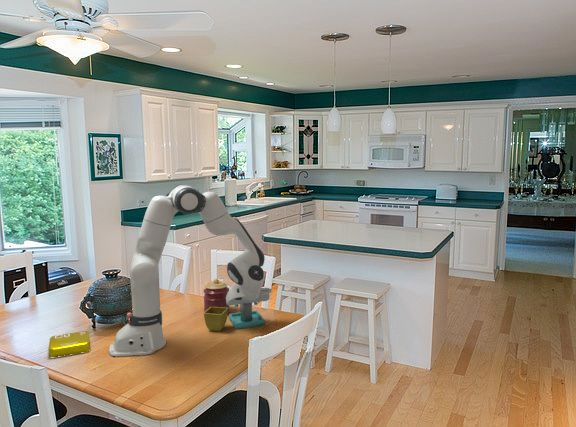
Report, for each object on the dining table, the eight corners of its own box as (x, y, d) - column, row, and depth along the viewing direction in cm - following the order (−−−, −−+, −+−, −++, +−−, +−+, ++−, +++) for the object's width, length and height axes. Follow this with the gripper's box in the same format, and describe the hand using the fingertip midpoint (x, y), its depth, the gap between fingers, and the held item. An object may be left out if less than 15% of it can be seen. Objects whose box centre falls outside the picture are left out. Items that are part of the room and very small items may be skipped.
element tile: (48, 360, 177) (48, 348, 176) (50, 345, 190) (49, 335, 190) (90, 352, 183) (89, 341, 182) (89, 339, 197) (88, 329, 196)
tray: (235, 329, 205) (235, 324, 205) (229, 318, 218) (229, 313, 218) (264, 325, 210) (264, 320, 209) (257, 315, 223) (257, 310, 223)
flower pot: (222, 333, 200) (221, 314, 199) (203, 332, 202) (203, 313, 201) (228, 326, 209) (228, 307, 208) (211, 325, 211) (210, 306, 210)
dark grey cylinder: (242, 322, 210) (241, 299, 209) (239, 318, 216) (238, 296, 214) (253, 320, 212) (253, 298, 211) (250, 316, 217) (250, 294, 216)
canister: (232, 308, 233) (231, 275, 231) (226, 317, 220) (225, 282, 218) (208, 307, 235) (207, 275, 232) (200, 316, 222) (199, 282, 220)
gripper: (271, 282, 208) (265, 296, 219) (227, 286, 202) (223, 301, 212) (273, 294, 205) (268, 308, 215) (229, 299, 198) (225, 313, 209)
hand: (245, 304), depth 214 cm, fingers open, 8 cm apart
